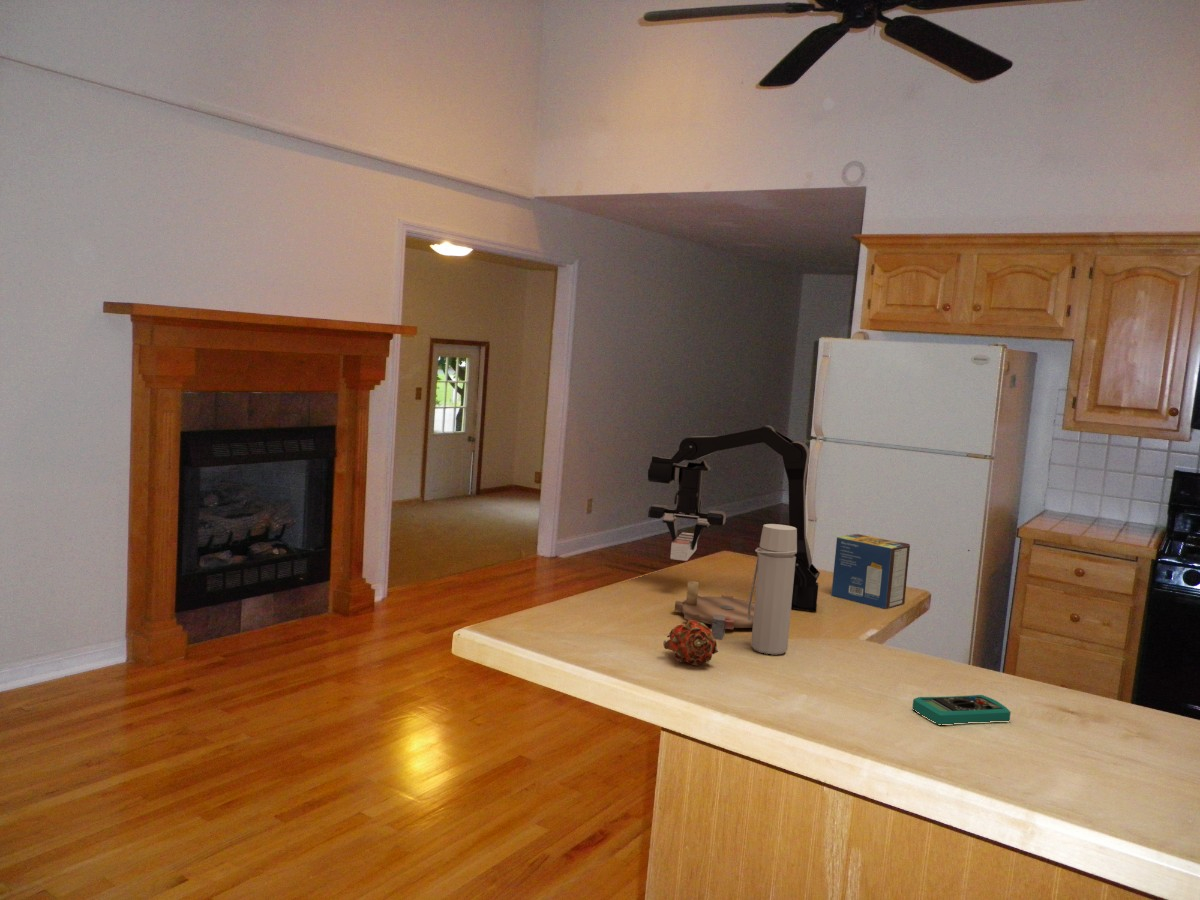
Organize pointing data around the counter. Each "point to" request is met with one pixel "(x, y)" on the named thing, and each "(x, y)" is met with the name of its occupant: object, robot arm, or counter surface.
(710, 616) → the flat round disc
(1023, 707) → the counter surface
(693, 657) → the dragon fruit
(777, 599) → the water bottle
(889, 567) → the protein box
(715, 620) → the pointer
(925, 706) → the digital multimeter
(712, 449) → the robot arm
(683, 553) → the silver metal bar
